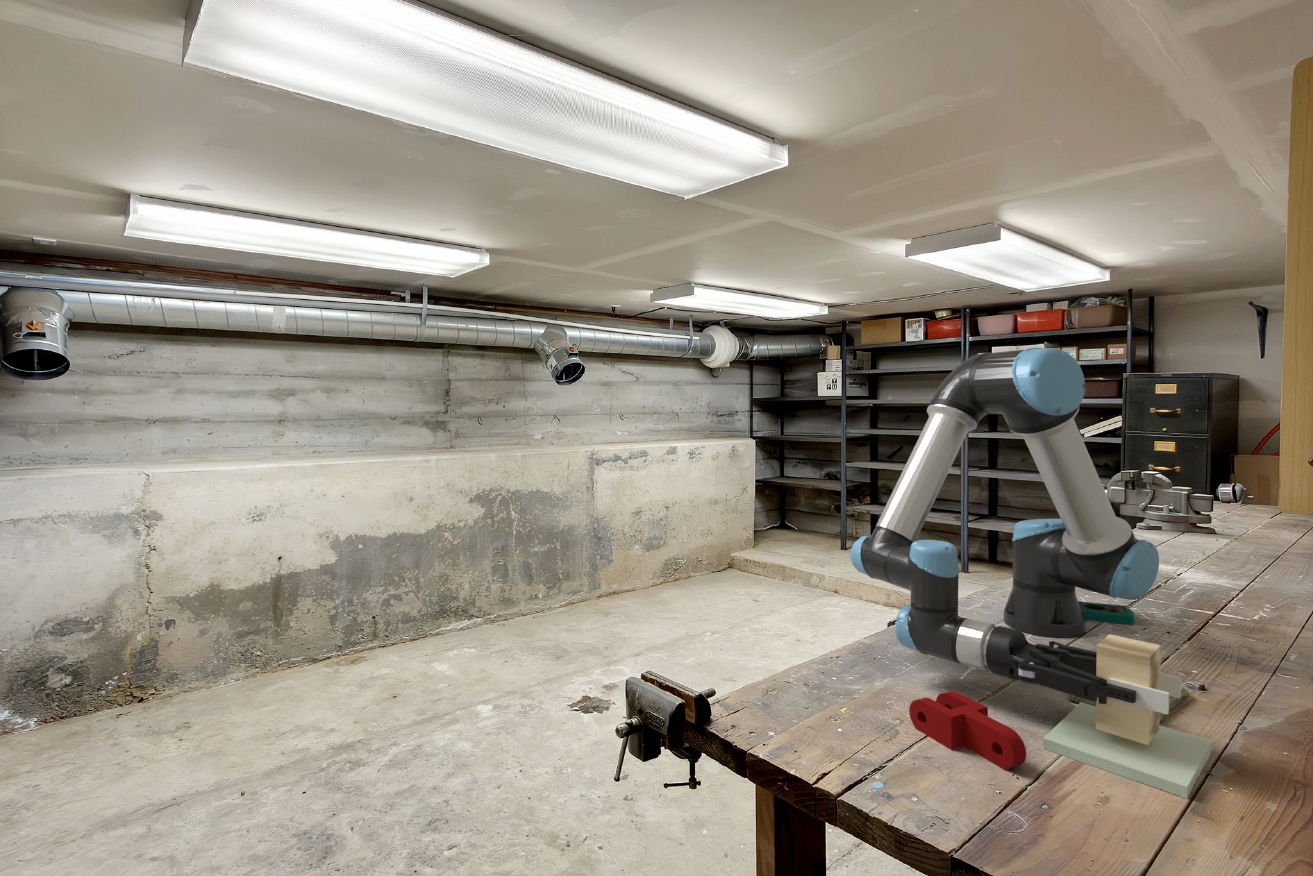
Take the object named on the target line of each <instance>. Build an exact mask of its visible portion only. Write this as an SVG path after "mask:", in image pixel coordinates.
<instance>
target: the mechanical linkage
mask: <svg viewBox="0 0 1313 876" xmlns="http://www.w3.org/2000/svg"><path fill="white" fill-rule="evenodd" d="M908 708H909V709H908V712H909V718H910V721H911V723H912V725H913V727H914V728H915V729H916V730H917V731H918V732H920V733H922V734H924V735H925V736H927V737H928V738H930V739H932V740H933V741H936V742H937V743H939V744H940V745H942V746H943V747H946V748H947V749H949V750H950V751H954V750H957V749H959V748H963V747H964V748H965V749H968V750H969V751H971V752H973V753H975V754H976V755H977V756H979V757H982V758H983V759H985V760H986V761H988V762H990V763H991V764H993V765H995V766H997V767H999V768H1001V769H1002V770H1008V769H1011V768H1014V767H1017V766H1021V765H1023V764H1024V763H1025V761H1026V758H1027V749H1026V746H1025V743H1024V740H1023V739H1022V737H1021V736H1020V735H1019V734H1018V732H1017V731H1016V730H1014V729H1013V728H1012V727H1010V726H1008V725H1006V724H1004V723H1002V722H999V721H997V720H996V719H993V718H992V717H990V716H989V707H988V706H986V705H984V704H983V703H982V702H981V703H980V702H979V701H976V700H974V699H973V698H971V697H968V696H966V695H964V694H962V693H960V692H958V691H956V690H949V691H946V692H942V693H939V694H938V695H937V697H936V698H935V700H934V699H933V698H929V697H922V698H918V699H914V700H912V702H911V703H910V704H909V707H908Z"/></svg>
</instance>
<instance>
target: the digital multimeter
mask: <svg viewBox="0 0 1313 876" xmlns="http://www.w3.org/2000/svg"><path fill="white" fill-rule="evenodd" d="M1078 603H1079V605H1080V608H1081V611H1082V614H1083V617H1084V619H1085V621H1087V620H1088V621H1096V622H1097V621H1098V622H1105V623H1112V624H1120V625H1129V626H1134V624H1135V612H1134V611H1133V610H1132V609H1130V607H1128V606H1127V605H1123V604H1121V605H1120V604H1112V603H1111V604H1110V603H1100V602H1091V601H1090V602H1089V601H1081V600H1078Z"/></svg>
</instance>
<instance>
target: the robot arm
mask: <svg viewBox="0 0 1313 876" xmlns="http://www.w3.org/2000/svg"><path fill="white" fill-rule="evenodd" d="M1085 381H1086V380H1085V377H1084V373H1083V370H1082V368H1081V366H1080V365H1079V363H1078V362H1077V360H1076V359H1075V358H1074V357H1073V356H1072V355H1071V354H1070V353H1068V352H1066V351H1065V350H1063V349H1058V348H1056V347H1055V348H1054V347H1045V348H1044V347H1029V348H1025V349H1018V350H1017V349H1016V350H1008V351H1007V350H1005V351H998V352H983V353H979V354H975V355H974V356H971V357H969V358H967V359H966V360H964V361H963V362H961V363H960V364H959V365H957V367H955V368H954V369H953V370H952V371H951V372H950V373H949V374H948V375H947V376H946V377H945V378H944V380H943V381H942V382H941V384H940V385H939V387H938V388H937V389H936V391H935V393H934V394H933V396H932V399H931V400H930V402H929V404H928V406H927V409H926V413H927V414H928V419H927V420H926V422H925V424H924V427H923V429H922V431H921V433H920V435H919V437H918V439H917V441H916V443H915V444H914V447H913V449H912V451H911V453H910V455H909V457H908V459H907V461H906V464H905V465H904V468H903V470H902V472H901V474H900V476H899V478H898V479H897V482H896V484H895V486H894V488H893V490H892V492H891V494H890V497H889V499H888V501H887V503H886V505H885V507H884V509H883V511H882V513H881V515H880V517H879V518H878V521H877V523H876V525H875V527H874V529H873V532H872V533H871V535H863V536H860V537H859V538H858V539H857V540H855V542H854V543H853V544H852V546H851V550H850V560H851V564H852V565H853V567H854V569H856V571H858V572H859V573H862V574H863V575H866V576H868V577H869V578H871V579H875V580H878V581H882V582H884V583H888V584H891V585H893V586H896V587H898V588H902V589H905V590H906V591H910V604H908V605H907V604H906V605H904V606H902V608H900V610H898V613H897V615H896V622H895V624H894V631H895V632H894V633H895V637H896V640H897V642H898V643H899V644H900V645H901V646H902V647H904V648H906V649H910V650H912V651H915V652H918V653H920V654H921V655H925V656H930V657H935V658H938V659H942V660H946V661H949V662H953V663H956V664H960V665H964V666H968V667H970V668H971V670H972V671H978V670H982V671H985V672H988V671H990V673H992V674H994V675H997V676H1001V677H1004V678H1008V679H1011V680H1016V679H1018V680H1019V681H1021V682H1024V683H1031V684H1035V685H1038V686H1042V687H1046V688H1048V689H1051V690H1055V691H1058V692H1061V693H1065V694H1066V693H1067V694H1071V695H1074V696H1077V697H1080V698H1084V699H1087V700H1090V701H1097V697H1098V698H1099V703H1100V704H1107V697H1109V699H1113V700H1117V701H1120V702H1124V703H1127V704H1131V705H1135V706H1138V707H1142V708H1145V709H1149V710H1152V711H1156V712H1160V713H1163V714H1166V716H1167V715H1169V713H1170V711H1169V696H1172V697H1176V698H1180V697H1181V686H1182V677H1181V676H1177V675H1173V674H1172V675H1171V674H1168V673H1164V672H1160V690H1157V689H1153V688H1150V687H1145V686H1142V685H1138V684H1134V683H1130V682H1126V681H1122V680H1118V679H1114V678H1109V683H1107V680H1106V679H1103V678H1101V677H1098V676H1096V663H1097V651H1095V650H1089V649H1085V648H1080V647H1075V646H1072V645H1066V644H1063V643H1060V642H1057V641H1054V640H1051V641H1048V645H1047V644H1042V643H1035V644H1033V643H1032V644H1030V642H1028V640H1027V637H1026V636H1025V633H1028V634H1032V635H1037V636H1043V637H1053V638H1072V637H1077V636H1081V635H1083V634H1085V633H1086V632H1085V631H1086V620H1085V619H1084V617H1083V614H1082V611H1081V608H1080V605H1079V603H1078V601H1079V600H1078V597H1077V594H1076V588H1078V589H1079V588H1080V589H1082V590H1086V591H1089V592H1093V593H1095V594H1096V593H1097V594H1101V595H1103V596H1108V597H1111V598H1113V599H1116V598H1117V599H1122V600H1126V601H1128V600H1129V601H1134V600H1135V601H1136V600H1139V599H1140V598H1142V597H1143V596H1145V595H1146V594H1148V592H1149V591H1150V589H1151V588H1152V587H1153V585H1154V583H1155V581H1156V578H1157V576H1158V573H1159V569H1160V568H1159V567H1160V557H1159V556H1160V555H1159V551H1158V549H1157V547H1156V545H1154V543H1152V542H1150V541H1147V540H1146V539H1138V538H1137V537H1136V536H1135V534H1134V532H1133V530H1132V527H1131V525H1130V524H1129V523H1128V521H1127V520H1125V519H1123V518H1121V517H1119V516H1116V513H1115V511H1114V508H1113V507H1112V505H1111V502H1110V500H1109V498H1108V495H1107V493H1106V490H1105V489H1104V486H1103V484H1102V481H1101V479H1100V476H1099V475H1098V472H1097V469H1096V467H1095V465H1094V463H1093V460H1092V458H1091V456H1090V453H1089V452H1088V449H1087V447H1086V444H1085V442H1084V440H1083V438H1082V435H1081V433H1080V430H1079V429H1078V426H1077V424H1076V421H1075V417H1076V416H1077V415H1078V413H1079V412H1080V411H1079V410H1080V405H1081V403H1082V402H1083V399H1084V396H1085V391H1086V390H1085V388H1084V387H1083V385H1085V384H1086V383H1085ZM987 415H1002V416H1003V418H1004V421H1005V422H1006V424H1007V427H1008V428H1009V430H1010V432H1011V433H1013V434H1015V435H1018V436H1022V438H1023V439H1024V441H1025V444H1026V446H1027V448H1028V450H1029V452H1030V455H1031V457H1032V459H1033V462H1034V463H1035V466H1036V468H1037V470H1038V472H1039V474H1040V477H1041V479H1042V480H1043V483H1044V485H1045V488H1046V490H1047V492H1048V494H1049V496H1050V498H1051V501H1052V502H1053V505H1054V507H1055V510H1056V512H1057V513H1058V515H1059V518H1036V519H1026V520H1021V521H1017V522H1016V523H1015V524H1014V526H1013V533H1012V534H1013V535H1012V539H1011V542H1012V589H1011V591H1010V593H1009V596H1008V598H1007V601H1006V604H1005V606H1004V609H1003V622H1004V623H1005V624H1006V625H1007V626H1009V627H1007V626H1003V625H998V626H996V625H995V624H994V623H991V622H986V621H981V620H977V619H974V618H973V619H972V618H969V617H968V618H967V617H963V616H960V615H959V577H960V576H959V573H960V567H959V557H958V549H957V546H955V545H954V544H953V543H951V542H948V541H944V540H937V539H920V540H917V538H918V536H919V534H920V532H921V530H922V528H923V526H924V524H925V522H926V519H927V517H928V515H929V513H930V511H931V509H932V507H933V505H934V503H935V500H936V499H937V497H938V495H939V493H940V490H941V488H942V487H943V484H944V482H945V481H946V478H947V477H948V474H949V472H950V471H951V468H952V466H953V464H954V461H955V460H956V457H957V455H958V453H959V451H960V449H961V447H962V445H963V443H964V440H965V439H966V437H967V434H968V433H969V432H971V431H975V430H976V428H977V427H978V425H979V423H980V421H981V419H982V418H984V417H985V416H987ZM1023 632H1024V633H1023ZM1062 662H1063V663H1062Z"/></svg>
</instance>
